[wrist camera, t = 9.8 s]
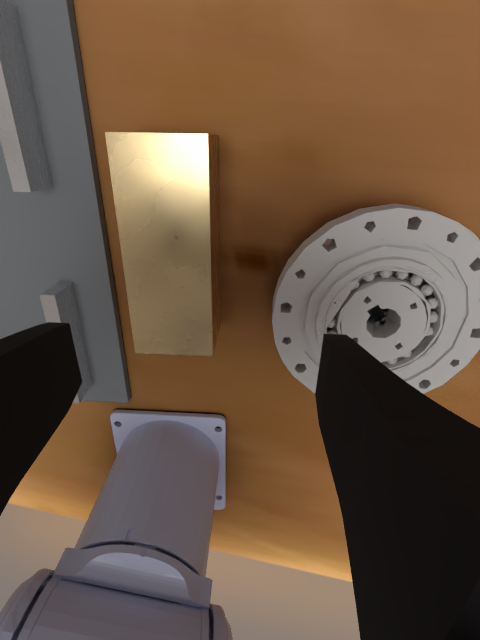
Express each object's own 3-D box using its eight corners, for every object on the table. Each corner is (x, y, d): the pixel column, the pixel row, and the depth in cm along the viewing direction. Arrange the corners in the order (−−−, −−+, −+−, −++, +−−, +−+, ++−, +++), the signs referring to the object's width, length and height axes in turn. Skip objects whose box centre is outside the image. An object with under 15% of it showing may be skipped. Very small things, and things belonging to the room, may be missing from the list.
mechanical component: (538, 344, 16) (344, 439, 19) (483, 304, 20) (330, 388, 23) (442, 151, 13) (228, 303, 16) (399, 149, 17) (234, 271, 20)
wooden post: (220, 320, 22) (212, 356, 18) (155, 318, 22) (135, 353, 18) (219, 135, 17) (208, 133, 14) (137, 134, 17) (105, 132, 14)
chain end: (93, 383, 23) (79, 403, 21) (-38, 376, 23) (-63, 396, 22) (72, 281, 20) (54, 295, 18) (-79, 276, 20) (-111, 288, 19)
